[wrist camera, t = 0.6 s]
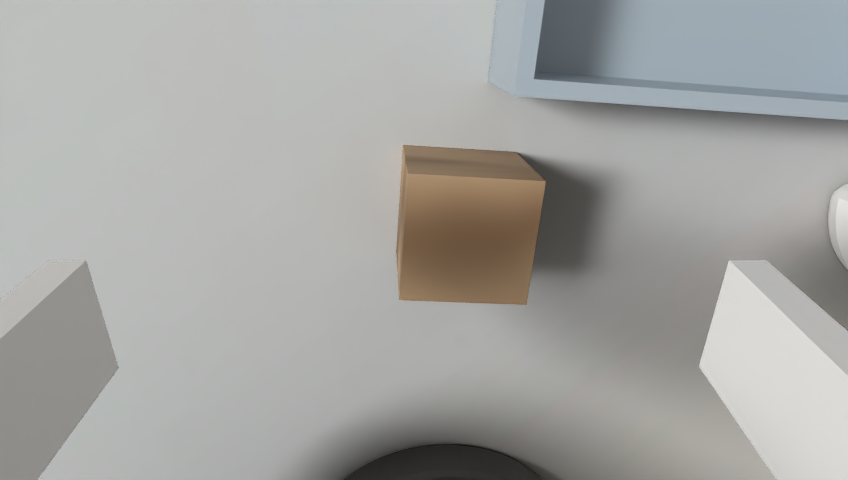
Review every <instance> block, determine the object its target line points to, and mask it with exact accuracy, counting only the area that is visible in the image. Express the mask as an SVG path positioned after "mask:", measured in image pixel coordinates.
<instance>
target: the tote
mask: <svg viewBox="0 0 848 480" xmlns="http://www.w3.org/2000/svg"><path fill="white" fill-rule="evenodd" d="M488 82H489V83H491V84H493V85H495V86H496V87H498V88H500V89H502V90H503V91H505V92H507V93H509V94H511V95H512V96H517V97H531V98H545V99H559V100H573V101H587V102H601V103H615V104H629V105H643V106H657V107H671V108H685V109H699V110H713V111H727V112H741V113H755V114H769V115H783V116H797V117H811V118H825V119H839V120H848V0H497V8H496V17H495V26H494V34H493V43H492V52H491V61H490V70H489V79H488Z"/></svg>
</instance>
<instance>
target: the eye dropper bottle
mask: <svg viewBox="0 0 848 480" xmlns="http://www.w3.org/2000/svg"><path fill="white" fill-rule="evenodd" d="M828 229H829V236H830V240H831V243H832V246H833V249H834V251H835V253H836V255H837V257H838V258H839V260H840V261H841V263H842V264H843V265H844V267H845V268H846V269H847V270H848V183H847V184H845V185H843V186H841V187H839V188H838V189H837V190H836V191H834V193H833V195H832V197H831V199H830V204H829V211H828Z"/></svg>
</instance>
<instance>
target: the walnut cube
mask: <svg viewBox="0 0 848 480" xmlns="http://www.w3.org/2000/svg"><path fill="white" fill-rule="evenodd" d="M545 184H546V181H545V180H544V179H543V178H542V177H541V176H540V175H539V174H538V173H537V172H536V171H535V170H534V169H533V168H532V167H531V166H530V165H529V164H528V163H527V162H526V161H525V160H524V159H523V158H521V157H520V156H519V155H518V154H517V153H516V152H507V151H491V150H475V149H459V148H442V147H426V146H410V145H403V154H402V170H401V186H400V202H399V218H398V234H397V250H396V253H397V270H398V287H399V300H411V301H438V302H466V303H493V304H521V305H527V298H528V292H529V286H530V279H531V273H532V267H533V260H534V254H535V248H536V241H537V235H538V229H539V222H540V216H541V210H542V203H543V197H544V191H545Z"/></svg>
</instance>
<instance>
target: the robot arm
mask: <svg viewBox="0 0 848 480" xmlns="http://www.w3.org/2000/svg"><path fill="white" fill-rule="evenodd" d="M699 367H700V369H701V370H702V372H703V373H704V375H705V376H706V378H707V379H708V380H709V382H710V383H711V385H712V386H713V388H714V389H715V391H716V392H717V394H718V395H719V396H720V398H721V399H722V401H723V402H724V404H725V405H726V407H727V408H728V410H729V411H730V412H731V414H732V415H733V417H734V418H735V420H736V421H737V423H738V424H739V426H740V427H741V429H742V430H743V431H744V433H745V434H746V436H747V437H748V439H749V440H750V442H751V443H752V445H753V446H754V447H755V449H756V450H757V452H758V453H759V455H760V456H761V458H762V459H763V461H764V462H765V464H766V465H767V466H768V468H769V469H770V471H771V472H772V474H773V475H774V477H775V478H776V480H848V331H847V330H846V329H845V328H843V327H842V326H841V325H840V324H839V323H838V322H837V321H835V320H834V319H833V318H832V317H831V316H830V315H829V314H827V313H826V312H825V311H824V310H823V309H822V308H820V307H819V306H818V305H817V304H816V303H815V302H814V301H812V300H811V299H810V298H809V297H808V296H807V295H806V294H804V293H803V292H802V291H801V290H800V289H799V288H798V287H796V286H795V285H794V284H793V283H792V282H791V281H789V280H788V279H787V278H786V277H785V276H784V275H783V274H781V273H780V272H779V271H778V270H777V269H776V268H775V267H773V266H772V265H771V264H770V263H769V262H768V261H767V260H729V262H728V266H727V269H726V273H725V276H724V280H723V283H722V287H721V290H720V294H719V298H718V301H717V305H716V308H715V312H714V315H713V319H712V322H711V326H710V329H709V333H708V336H707V340H706V343H705V347H704V350H703V354H702V357H701V361H700V364H699ZM117 369H118V364H117V361H116V358H115V354H114V351H113V348H112V344H111V341H110V338H109V335H108V331H107V328H106V325H105V321H104V318H103V315H102V311H101V308H100V305H99V302H98V298H97V295H96V292H95V288H94V285H93V282H92V279H91V275H90V272H89V269H88V265H87V262H86V260H72V261H47V262H46V263H44V264H43V265H42V266H41V267H40V268H38V269H37V270H36V271H35V272H33V273H32V274H31V275H30V276H29V277H27V278H26V279H25V280H24V281H22V282H21V283H20V284H19V285H18V286H16V287H15V288H14V289H13V290H11V291H10V292H9V293H8V294H7V295H5V296H4V297H3V298H2V299H1V300H0V480H37V479H38V478H39V477H40V475H41V474H42V472H43V471H44V470H45V468H46V467H47V466H48V464H49V463H50V461H51V460H52V459H53V457H54V456H55V455H56V453H57V452H58V450H59V449H60V448H61V446H62V445H63V444H64V442H65V441H66V439H67V438H68V437H69V435H70V434H71V433H72V431H73V430H74V429H75V427H76V426H77V424H78V423H79V422H80V420H81V419H82V418H83V416H84V415H85V413H86V412H87V411H88V409H89V408H90V407H91V405H92V404H93V402H94V401H95V400H96V398H97V397H98V396H99V394H100V393H101V391H102V390H103V389H104V387H105V386H106V385H107V383H108V382H109V380H110V379H111V378H112V376H113V375H114V374H115V372H116V371H117ZM344 480H542V479H541V478H540V477H539V476H538V475H536V474H535V473H534V472H533V471H532V470H530V469H529V468H527V467H526V466H524V465H523V464H521V463H519V462H517V461H515V460H513V459H511V458H509V457H507V456H504V455H502V454H499V453H496V452H493V451H489V450H485V449H481V448H475V447H469V446H459V445H436V446H425V447H418V448H413V449H408V450H404V451H400V452H397V453H394V454H391V455H388V456H385V457H383V458H380V459H378V460H376V461H373V462H371V463H369V464H367V465H366V466H364V467H362V468H360V469H359V470H357V471H356V472H354V473H352V474H351V475H350V476H348V477H347V478H346V479H344Z"/></svg>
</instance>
